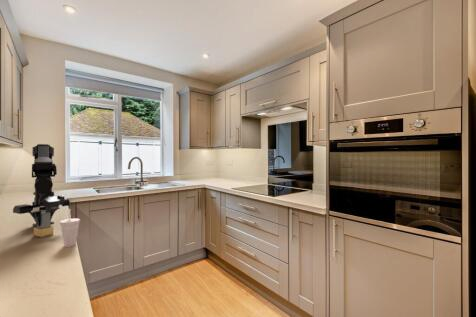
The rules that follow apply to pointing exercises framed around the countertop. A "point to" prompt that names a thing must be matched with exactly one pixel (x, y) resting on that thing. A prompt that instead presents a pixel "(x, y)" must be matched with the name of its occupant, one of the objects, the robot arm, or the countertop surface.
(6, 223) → the countertop surface
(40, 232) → the socket block
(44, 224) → the plug
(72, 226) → the smoothie
